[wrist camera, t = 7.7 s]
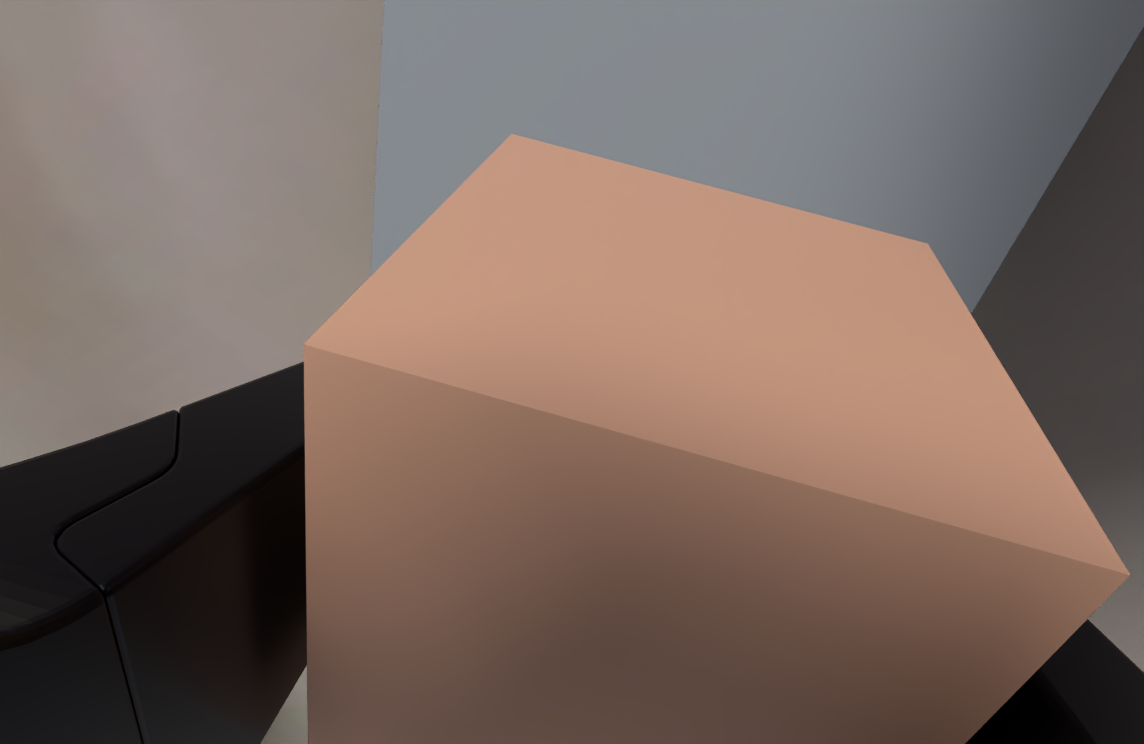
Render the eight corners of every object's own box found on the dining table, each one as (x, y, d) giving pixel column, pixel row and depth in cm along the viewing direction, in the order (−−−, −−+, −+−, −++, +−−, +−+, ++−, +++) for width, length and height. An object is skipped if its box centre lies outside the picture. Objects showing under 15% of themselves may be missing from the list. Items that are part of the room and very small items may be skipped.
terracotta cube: (927, 243, 8) (1130, 574, 4) (772, 537, 11) (800, 911, 7) (511, 134, 8) (303, 343, 4) (463, 449, 11) (308, 762, 7)
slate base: (1138, -109, 14) (1228, -114, 12) (844, 432, 22) (859, 499, 19) (455, -275, 15) (399, -314, 12) (406, 312, 22) (366, 362, 20)
